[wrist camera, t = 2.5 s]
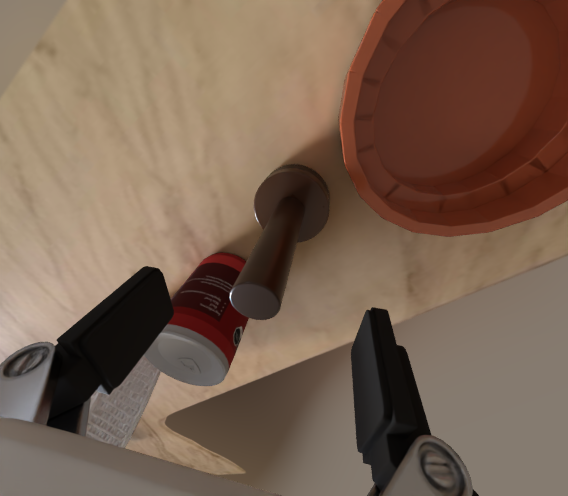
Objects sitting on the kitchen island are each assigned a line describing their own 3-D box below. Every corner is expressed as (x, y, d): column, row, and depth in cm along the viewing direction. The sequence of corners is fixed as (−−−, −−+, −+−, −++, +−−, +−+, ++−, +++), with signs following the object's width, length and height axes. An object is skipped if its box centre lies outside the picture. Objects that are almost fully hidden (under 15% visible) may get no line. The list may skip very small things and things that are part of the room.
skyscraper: (188, 292, 31) (-245, 858, 8) (211, 328, 34) (-37, 787, 11) (144, 296, 33) (-287, 740, 10) (170, 329, 37) (-104, 712, 14)
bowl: (324, 196, 20) (322, 220, 16) (368, -63, 12) (386, -149, 8) (502, 217, 18) (550, 250, 14) (690, -67, 10) (925, -179, 6)
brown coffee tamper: (261, 225, 23) (198, 333, 12) (261, 160, 19) (174, 231, 9) (323, 234, 22) (315, 357, 12) (335, 168, 19) (339, 256, 8)
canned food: (229, 306, 31) (186, 391, 22) (188, 264, 28) (119, 342, 19) (273, 289, 28) (245, 381, 19) (233, 240, 25) (175, 320, 16)
